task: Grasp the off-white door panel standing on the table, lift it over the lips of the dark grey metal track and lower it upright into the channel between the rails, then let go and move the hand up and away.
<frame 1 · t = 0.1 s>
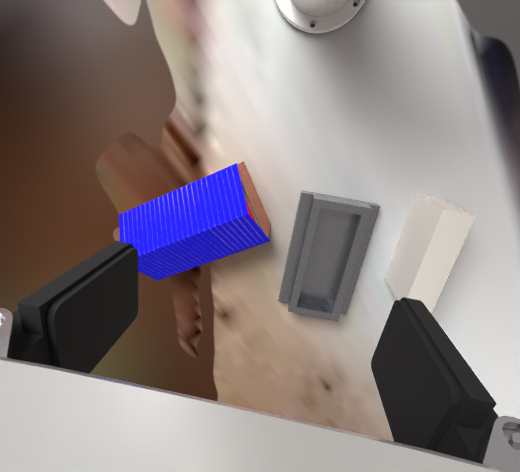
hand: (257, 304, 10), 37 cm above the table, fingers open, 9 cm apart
blue shipping container: (206, 214, 49), on the table
door track: (324, 254, 49), on the table
door panel: (411, 241, 46), on the table
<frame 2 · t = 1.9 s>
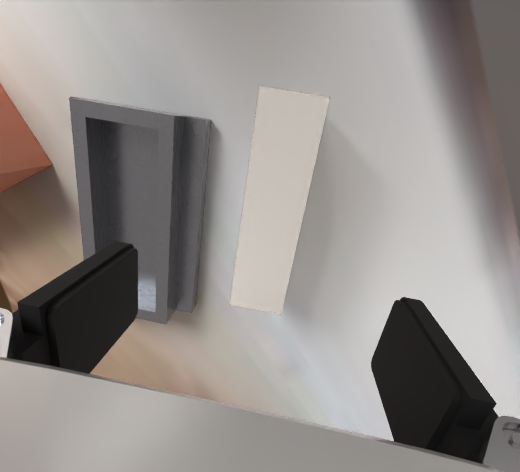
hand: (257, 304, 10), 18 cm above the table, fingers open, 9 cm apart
door track: (145, 213, 30), on the table
door panel: (278, 188, 27), on the table
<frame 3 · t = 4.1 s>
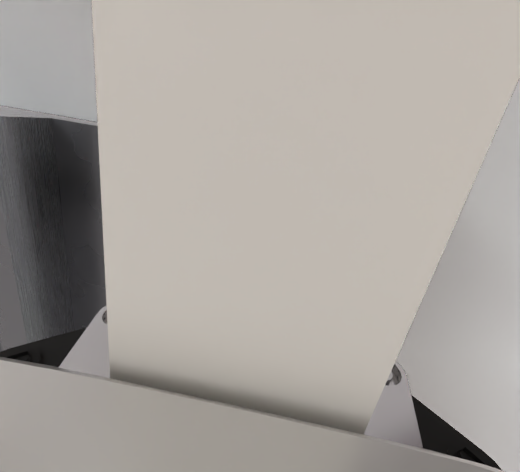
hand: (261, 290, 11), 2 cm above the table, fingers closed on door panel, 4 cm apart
door track: (22, 297, 16), on the table
door panel: (266, 262, 14), on the table, touching gripper
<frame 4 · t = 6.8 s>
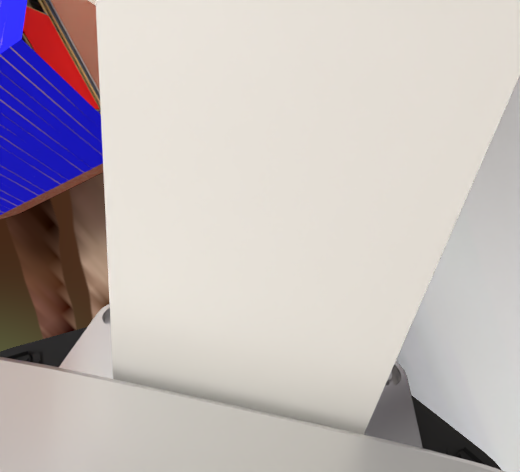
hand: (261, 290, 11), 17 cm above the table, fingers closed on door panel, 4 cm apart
blue shipping container: (56, 125, 28), on the table
door panel: (267, 262, 14), point 15 cm above the table, touching gripper
when the fingers open (5 cm above the table, at t = 9.6 s): door panel drops 1 cm, resting on door track.
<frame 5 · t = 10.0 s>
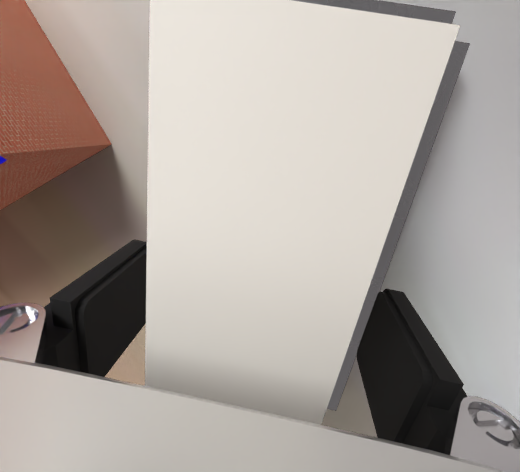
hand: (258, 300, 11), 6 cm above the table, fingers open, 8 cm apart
door track: (271, 240, 16), on the table
door panel: (267, 249, 15), point 1 cm above the table, touching door track
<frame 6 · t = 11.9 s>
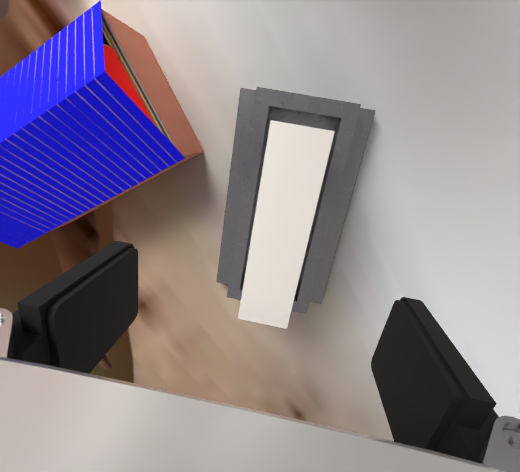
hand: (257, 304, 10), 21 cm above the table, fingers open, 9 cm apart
blue shipping container: (103, 142, 31), on the table
door track: (285, 204, 30), on the table
door panel: (284, 207, 29), point 1 cm above the table, touching door track
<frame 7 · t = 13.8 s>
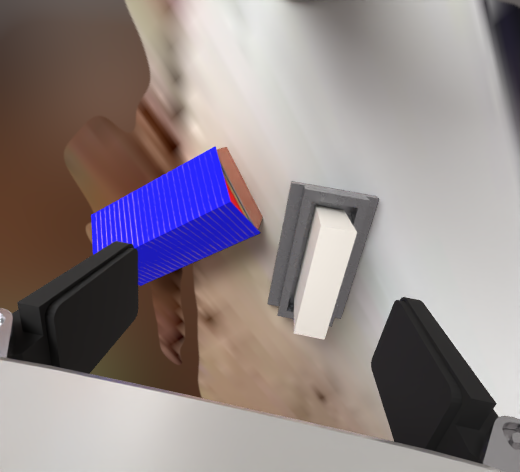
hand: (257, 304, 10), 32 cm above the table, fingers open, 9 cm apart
blue shipping container: (191, 209, 44), on the table
door track: (317, 252, 44), on the table
door panel: (317, 255, 43), point 1 cm above the table, touching door track
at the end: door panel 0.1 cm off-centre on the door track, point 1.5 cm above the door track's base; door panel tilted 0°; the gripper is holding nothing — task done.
